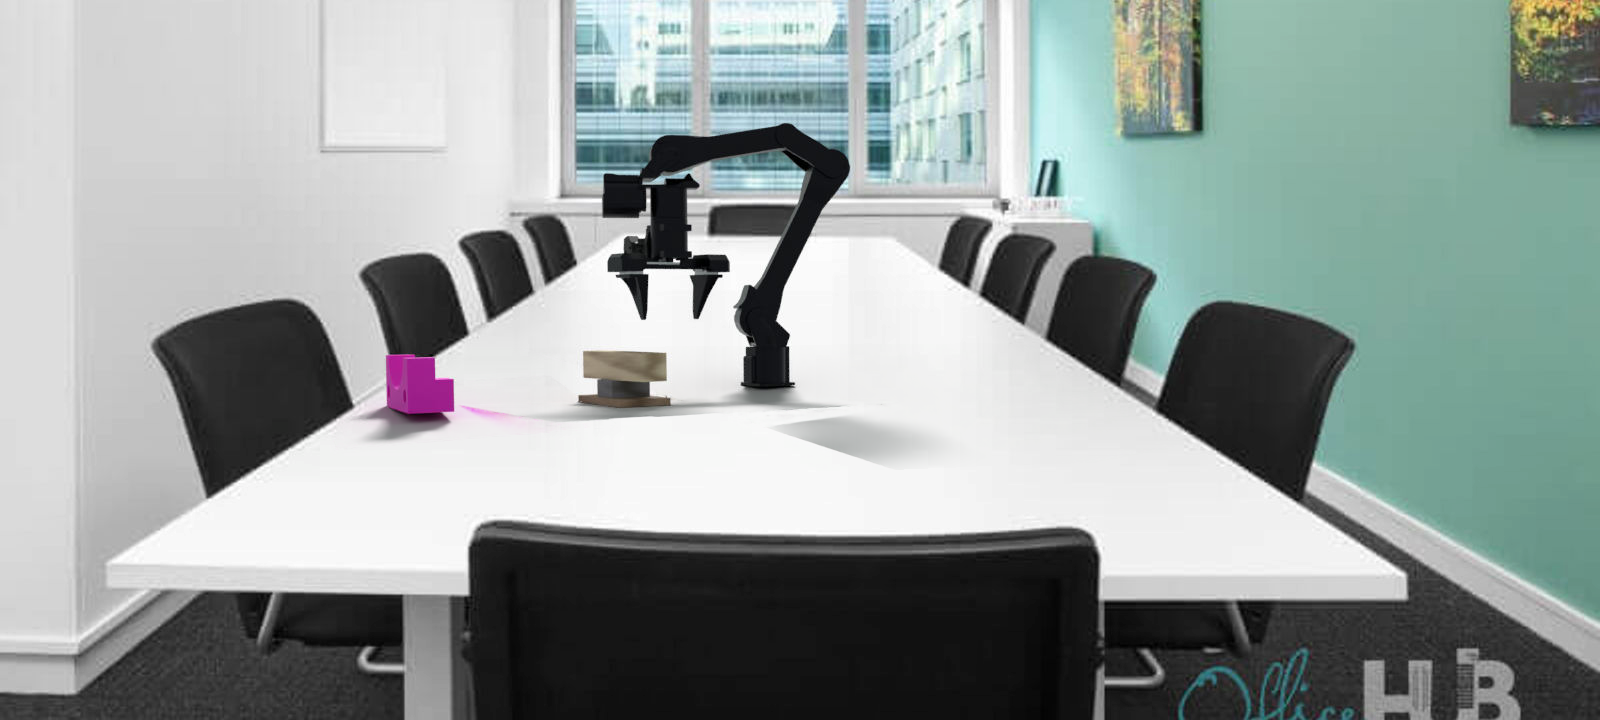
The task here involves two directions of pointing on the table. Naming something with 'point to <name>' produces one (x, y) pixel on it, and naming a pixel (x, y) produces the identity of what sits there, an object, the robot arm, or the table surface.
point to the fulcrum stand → (623, 394)
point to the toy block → (417, 385)
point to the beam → (625, 365)
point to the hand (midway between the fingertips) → (670, 319)
